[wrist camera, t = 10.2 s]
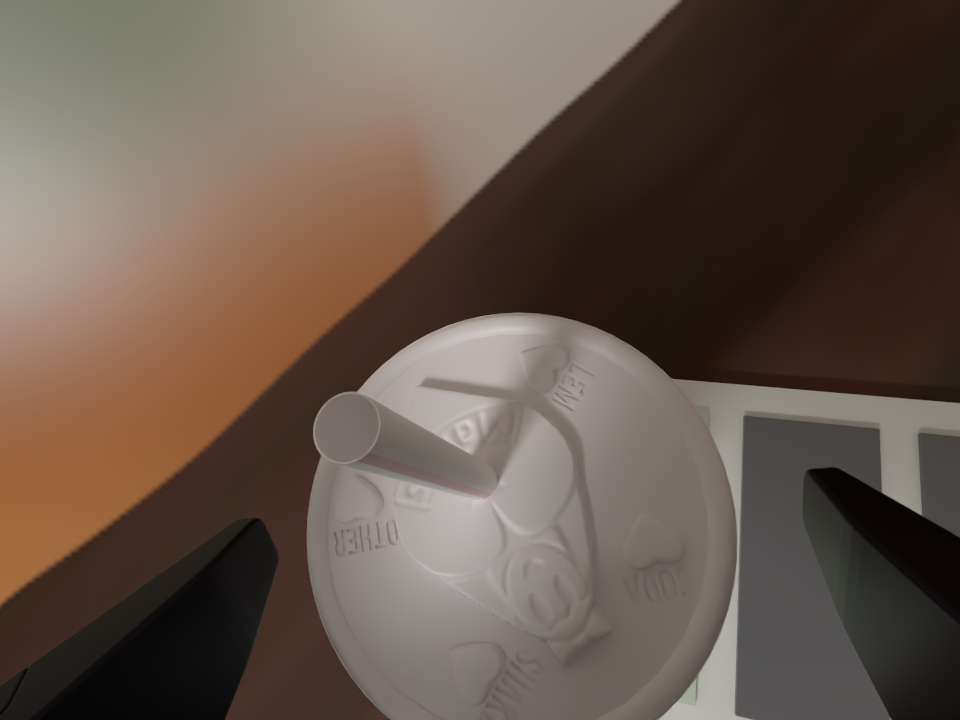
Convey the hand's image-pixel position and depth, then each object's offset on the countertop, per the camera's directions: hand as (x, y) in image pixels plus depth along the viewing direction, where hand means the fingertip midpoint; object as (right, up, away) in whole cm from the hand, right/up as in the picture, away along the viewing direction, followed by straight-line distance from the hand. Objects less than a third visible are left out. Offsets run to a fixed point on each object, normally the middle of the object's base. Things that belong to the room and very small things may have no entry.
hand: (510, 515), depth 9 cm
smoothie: (+2, -3, +8) cm, 9 cm away
